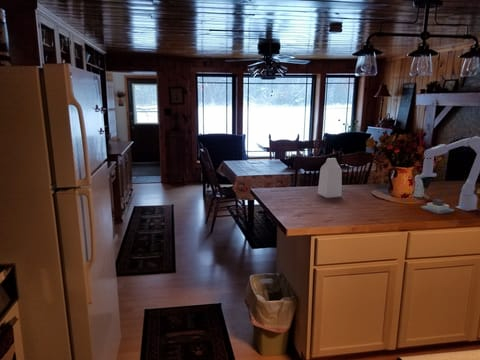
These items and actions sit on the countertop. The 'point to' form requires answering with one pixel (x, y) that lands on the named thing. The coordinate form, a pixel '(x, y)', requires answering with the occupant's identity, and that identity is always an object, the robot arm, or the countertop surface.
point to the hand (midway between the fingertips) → (425, 188)
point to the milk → (330, 179)
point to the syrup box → (418, 187)
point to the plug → (438, 202)
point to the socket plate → (437, 208)
